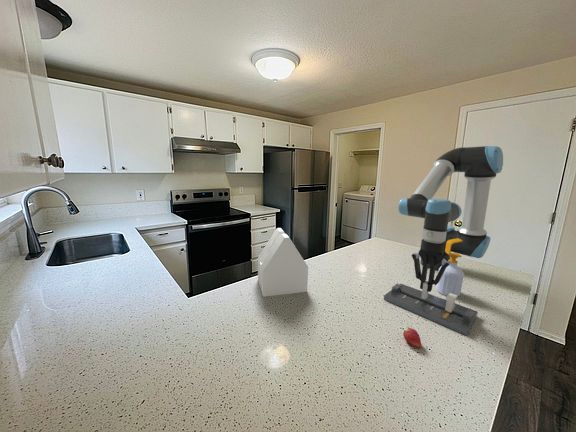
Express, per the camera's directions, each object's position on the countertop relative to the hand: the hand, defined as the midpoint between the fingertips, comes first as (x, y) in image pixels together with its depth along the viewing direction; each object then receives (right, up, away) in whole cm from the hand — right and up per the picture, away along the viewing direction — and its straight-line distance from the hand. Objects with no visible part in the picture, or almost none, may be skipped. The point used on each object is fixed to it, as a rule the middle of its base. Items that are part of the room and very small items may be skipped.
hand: (424, 297), depth 93 cm
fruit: (-16, -7, -20) cm, 26 cm away
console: (+1, -4, -1) cm, 4 cm away
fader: (+6, -2, -6) cm, 9 cm away
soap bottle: (+17, -2, +12) cm, 21 cm away
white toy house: (-57, 0, +14) cm, 59 cm away
